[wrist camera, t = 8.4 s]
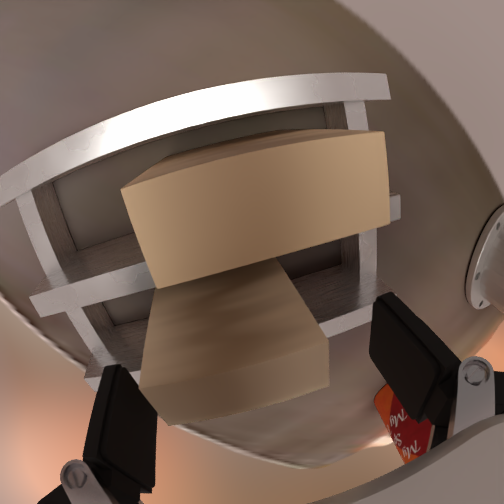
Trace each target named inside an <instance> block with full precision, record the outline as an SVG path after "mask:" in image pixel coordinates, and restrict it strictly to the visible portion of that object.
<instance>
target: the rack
mask: <svg viewBox="0 0 504 504" xmlns="http://www.w3.org/2000/svg"><path fill="white" fill-rule="evenodd" d="M379 100H391V97H390V91H389V86H388V81H387V76H386V74H381V73H317V74H302V75H290V76H280V77H272V78H264V79H257V80H250V81H244V82H238V83H233V84H227V85H222V86H217V87H213V88H208V89H204V90H199V91H195V92H191V93H187V94H184V95H180V96H176V97H173V98H169V99H166V100H162V101H159V102H156V103H153V104H149V105H146V106H143V107H140V108H137V109H135V110H132V111H129V112H126V113H124V114H121V115H118V116H116V117H113V118H110V119H108V120H106V121H103V122H101V123H98V124H96V125H94V126H91V127H89V128H87V129H84V130H82V131H80V132H78V133H76V134H74V135H72V136H70V137H67V138H65V139H63V140H61V141H59V142H57V143H56V144H54V145H52V146H50V147H48V148H46V149H44V150H42V151H41V152H39V153H37V154H35V155H34V156H32V157H30V158H28V159H27V160H25V161H23V162H22V163H20V164H19V165H17V166H15V167H14V168H12V169H11V170H9V171H8V172H6V173H4V174H3V175H1V176H0V207H2V206H4V205H6V204H8V203H10V202H12V201H14V200H16V201H17V204H18V207H19V210H20V213H21V216H22V219H23V222H24V224H25V227H26V230H27V232H28V235H29V237H30V240H31V242H32V245H33V247H34V249H35V252H36V254H37V256H38V258H39V261H40V263H41V265H42V267H43V269H44V271H45V273H46V277H45V278H44V279H43V280H42V281H41V283H40V284H39V285H38V286H37V288H36V289H35V290H34V291H33V293H32V294H31V295H30V296H29V298H30V300H31V301H32V303H33V305H34V307H35V308H36V310H37V312H38V314H39V315H40V317H44V316H48V315H52V314H56V313H60V312H64V311H66V313H67V315H68V316H69V318H70V320H71V321H72V323H73V325H74V326H75V328H76V329H77V331H78V333H79V334H80V336H81V337H82V339H83V340H84V342H85V343H86V345H87V346H88V348H89V349H90V351H91V352H92V355H91V358H90V361H89V364H88V367H87V370H86V373H85V376H84V379H85V381H86V382H87V383H88V384H89V385H90V387H91V388H92V389H93V390H94V391H95V392H97V391H98V387H99V383H100V380H101V376H102V373H103V370H104V367H105V366H107V365H114V364H120V365H121V366H122V367H125V368H126V369H127V370H128V371H129V373H130V374H131V376H132V377H133V378H134V380H135V381H136V382H137V384H138V385H139V381H140V373H141V366H142V359H143V352H144V345H145V339H146V333H147V327H148V322H149V318H148V319H143V320H139V321H135V322H131V323H126V324H122V325H118V326H114V324H113V322H112V321H111V319H110V317H109V315H108V313H107V312H106V310H105V308H104V306H103V304H102V301H106V300H110V299H114V298H118V297H121V296H125V295H129V294H133V293H136V292H140V291H144V290H148V289H151V288H155V287H156V285H155V282H154V280H153V278H152V275H151V273H150V270H149V268H148V265H147V263H146V260H145V258H144V255H143V253H142V250H141V247H140V245H139V242H138V239H137V237H136V234H135V233H132V234H128V235H125V236H122V237H119V238H116V239H113V240H110V241H107V242H104V243H101V244H98V245H95V246H92V247H89V248H86V249H83V250H81V251H78V252H77V249H76V247H75V245H74V242H73V240H72V237H71V235H70V232H69V230H68V227H67V224H66V222H65V219H64V216H63V214H62V211H61V208H60V205H59V202H58V199H57V196H56V193H55V190H54V186H53V183H52V182H53V181H55V180H57V179H59V178H61V177H63V176H65V175H67V174H70V173H72V172H74V171H76V170H79V169H81V168H83V167H86V166H88V165H90V164H93V163H95V162H97V161H100V160H102V159H105V158H108V157H110V156H113V155H115V154H118V153H121V152H123V151H126V150H129V149H132V148H135V147H137V146H140V145H143V144H146V143H149V142H153V141H156V140H159V139H162V138H165V137H169V136H172V135H175V134H179V133H182V132H186V131H190V130H194V129H197V128H201V127H205V126H209V125H213V124H218V123H222V122H227V121H231V120H236V119H241V118H246V117H251V116H256V115H262V114H268V113H274V112H280V111H287V110H294V109H302V108H310V107H320V106H323V109H324V114H325V120H326V126H327V129H342V130H367V131H369V129H368V122H367V116H366V110H365V104H364V102H368V101H379ZM389 198H390V222H392V221H395V220H398V219H401V201H400V194H397V193H395V192H392V191H389ZM340 240H341V255H342V264H341V265H337V266H334V267H331V268H328V269H325V270H322V271H318V272H315V273H312V274H309V275H305V276H302V277H299V278H295V279H292V280H291V282H292V283H293V285H294V287H295V288H296V290H297V291H298V293H299V294H300V296H301V298H302V299H303V301H304V302H305V304H306V306H307V307H308V309H309V310H310V312H311V313H312V315H313V317H314V318H315V320H316V321H317V323H318V325H319V326H320V328H321V329H322V331H323V333H324V334H325V336H326V337H327V338H328V337H331V336H334V335H336V334H339V333H342V332H344V331H347V330H349V329H352V328H355V327H357V326H360V325H362V324H365V323H367V322H369V321H372V308H373V302H375V301H376V298H377V297H378V296H380V295H382V294H385V293H388V292H392V293H394V294H395V295H396V296H397V294H396V293H395V292H394V291H393V290H392V289H391V288H390V287H389V286H387V285H386V284H385V283H384V282H383V281H382V280H381V279H380V278H379V277H377V276H376V269H377V228H375V229H371V230H368V231H364V232H361V233H357V234H354V235H351V236H347V237H344V238H340Z"/></svg>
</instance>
